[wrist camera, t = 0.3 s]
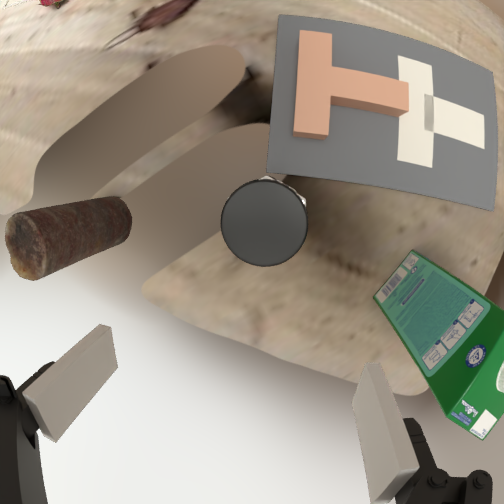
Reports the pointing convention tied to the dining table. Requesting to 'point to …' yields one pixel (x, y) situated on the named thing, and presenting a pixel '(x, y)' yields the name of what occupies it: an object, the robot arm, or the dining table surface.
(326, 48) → the t block
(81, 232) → the candle
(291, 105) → the mat
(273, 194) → the jar
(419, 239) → the dining table surface
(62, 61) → the dining table surface
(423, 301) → the milk carton
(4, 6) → the photo frame
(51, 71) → the dining table surface
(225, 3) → the dining table surface
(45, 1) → the flower
